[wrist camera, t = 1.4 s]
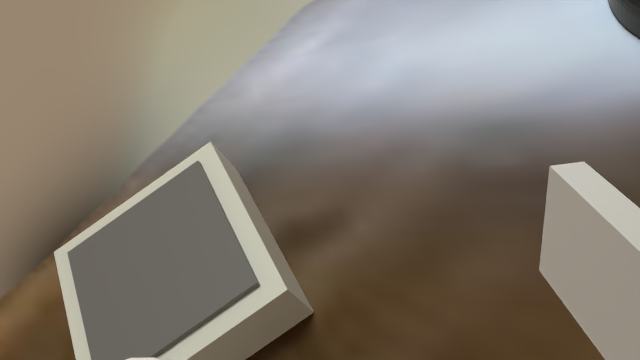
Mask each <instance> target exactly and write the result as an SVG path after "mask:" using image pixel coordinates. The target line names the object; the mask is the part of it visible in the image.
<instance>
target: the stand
mask: <svg viewBox="0 0 640 360" xmlns="http://www.w3.org/2000/svg"><path fill="white" fill-rule="evenodd" d="M54 255H55V260H56V264H57V269H58V274H59V279H60V284H61V289H62V294H63V299H64V303H65V308H66V313H67V318H68V323H69V328H70V333H71V337H72V342H73V347H74V352H75V357H76V360H126V359H129V358H149V357H154V358H169V359H185V360H246V359H247V358H249V357H250V356H252V355H253V354H254V353H256V352H257V351H259V350H260V349H262V348H263V347H265V346H266V345H267V344H269V343H270V342H272V341H273V340H275V339H276V338H278V337H279V336H280V335H282V334H283V333H285V332H286V331H288V330H289V329H291V328H292V327H293V326H295V325H296V324H298V323H299V322H301V321H302V320H304V319H305V318H306V317H308V316H309V315H311V314H312V313H314V311H313V309H312V308H311V306H310V304H309V302H308V300H307V298H306V297H305V295H304V293H303V291H302V289H301V287H300V285H299V284H298V282H297V280H296V278H295V276H294V274H293V272H292V271H291V269H290V267H289V265H288V263H287V261H286V260H285V258H284V256H283V254H282V252H281V250H280V248H279V247H278V245H277V243H276V241H275V239H274V237H273V235H272V234H271V232H270V230H269V228H268V226H267V224H266V222H265V221H264V219H263V217H262V215H261V213H260V211H259V210H258V208H257V206H256V204H255V202H254V200H253V198H252V197H251V195H250V193H249V191H248V189H247V187H246V185H245V184H244V182H243V180H242V178H241V176H240V174H239V173H238V171H237V169H236V168H235V167H234V166H233V165H232V164H231V163H230V162H229V161H228V160H227V159H226V158H225V157H224V155H223V154H222V153H221V152H220V151H219V150H218V149H217V148H216V147H215V146H214V145H213V144H212V143H211V142H209V143H208V144H206V145H205V146H204V147H202V148H201V149H199V150H198V151H197V152H195V153H194V154H192V155H191V156H189V157H188V158H187V159H185V160H184V161H182V162H181V163H180V164H178V165H177V166H175V167H174V168H172V169H171V170H170V171H168V172H167V173H165V174H164V175H163V176H161V177H160V178H158V179H157V180H155V181H154V182H153V183H151V184H150V185H148V186H147V187H146V188H144V189H143V190H141V191H140V192H138V193H137V194H136V195H134V196H133V197H131V198H130V199H129V200H127V201H126V202H124V203H123V204H122V205H120V206H119V207H117V208H116V209H114V210H113V211H112V212H110V213H109V214H107V215H106V216H105V217H103V218H102V219H100V220H99V221H97V222H96V223H95V224H93V225H92V226H90V227H89V228H88V229H86V230H85V231H83V232H82V233H80V234H79V235H78V236H76V237H75V238H73V239H72V240H71V241H69V242H68V243H66V244H65V245H63V246H62V247H61V248H59V249H58V250H56V251H55V252H54Z"/></svg>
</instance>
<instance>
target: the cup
mask: <svg viewBox="0 0 640 360" xmlns="http://www.w3.org/2000/svg"><path fill="white" fill-rule="evenodd" d="M126 360H185V359H169V358H154V357H149V358H129V359H126Z"/></svg>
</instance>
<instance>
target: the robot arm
mask: <svg viewBox="0 0 640 360" xmlns="http://www.w3.org/2000/svg"><path fill="white" fill-rule="evenodd" d="M608 2H609V5H610V7H611V9H612V11H613V13H614V15H615V16H616V18H617V19H618V20H619V21H620V22H621V23H622V24H623V25H624V26H625V27H626V28H627V29H628V30H629V31H631V32H632V33H634V34H635V35H637V36H638V37H640V0H608ZM539 271H540V272H541V273H542V275H543V276H544V277H545V279H546V280H547V281H548V283H549V284H550V286H551V287H552V288H553V290H554V291H555V292H556V294H557V295H558V296H559V298H560V299H561V300H562V302H563V303H564V305H565V306H566V307H567V309H568V310H569V311H570V313H571V314H572V315H573V317H574V318H575V319H576V321H577V322H578V323H579V325H580V326H581V328H582V329H583V330H584V332H585V333H586V334H587V336H588V337H589V338H590V340H591V341H592V342H593V344H594V345H595V346H596V348H597V349H598V351H599V352H600V353H601V355H602V356H603V357H604V359H605V360H640V208H639V207H637V206H636V205H635V204H634V203H633V202H631V201H630V200H629V199H628V198H627V197H625V196H624V195H623V194H622V193H621V192H620V191H618V190H617V189H616V188H615V187H614V186H612V185H611V184H610V183H609V182H608V181H606V180H605V179H604V178H603V177H602V176H600V175H599V174H598V173H597V172H596V171H595V170H593V169H592V168H591V167H590V166H589V165H587V164H586V163H585V162H578V163H569V164H561V165H553V166H550V169H549V178H548V188H547V198H546V208H545V218H544V228H543V238H542V248H541V257H540V267H539Z"/></svg>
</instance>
